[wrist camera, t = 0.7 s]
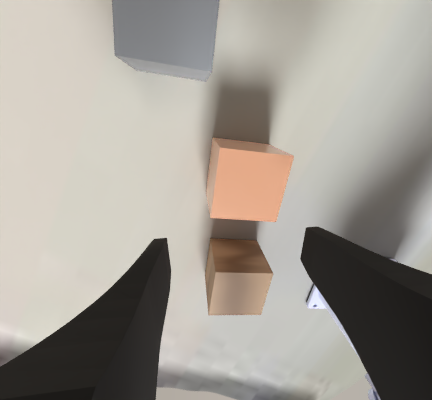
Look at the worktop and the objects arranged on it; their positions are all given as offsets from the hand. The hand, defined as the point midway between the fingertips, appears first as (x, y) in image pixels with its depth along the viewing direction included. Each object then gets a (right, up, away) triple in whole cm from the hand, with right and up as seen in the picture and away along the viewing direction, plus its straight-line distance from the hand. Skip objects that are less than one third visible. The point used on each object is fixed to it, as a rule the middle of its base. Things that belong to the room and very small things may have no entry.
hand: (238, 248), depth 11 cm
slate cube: (-4, +14, +4) cm, 15 cm away
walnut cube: (0, -4, +12) cm, 13 cm away
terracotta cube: (+1, +5, +8) cm, 10 cm away
